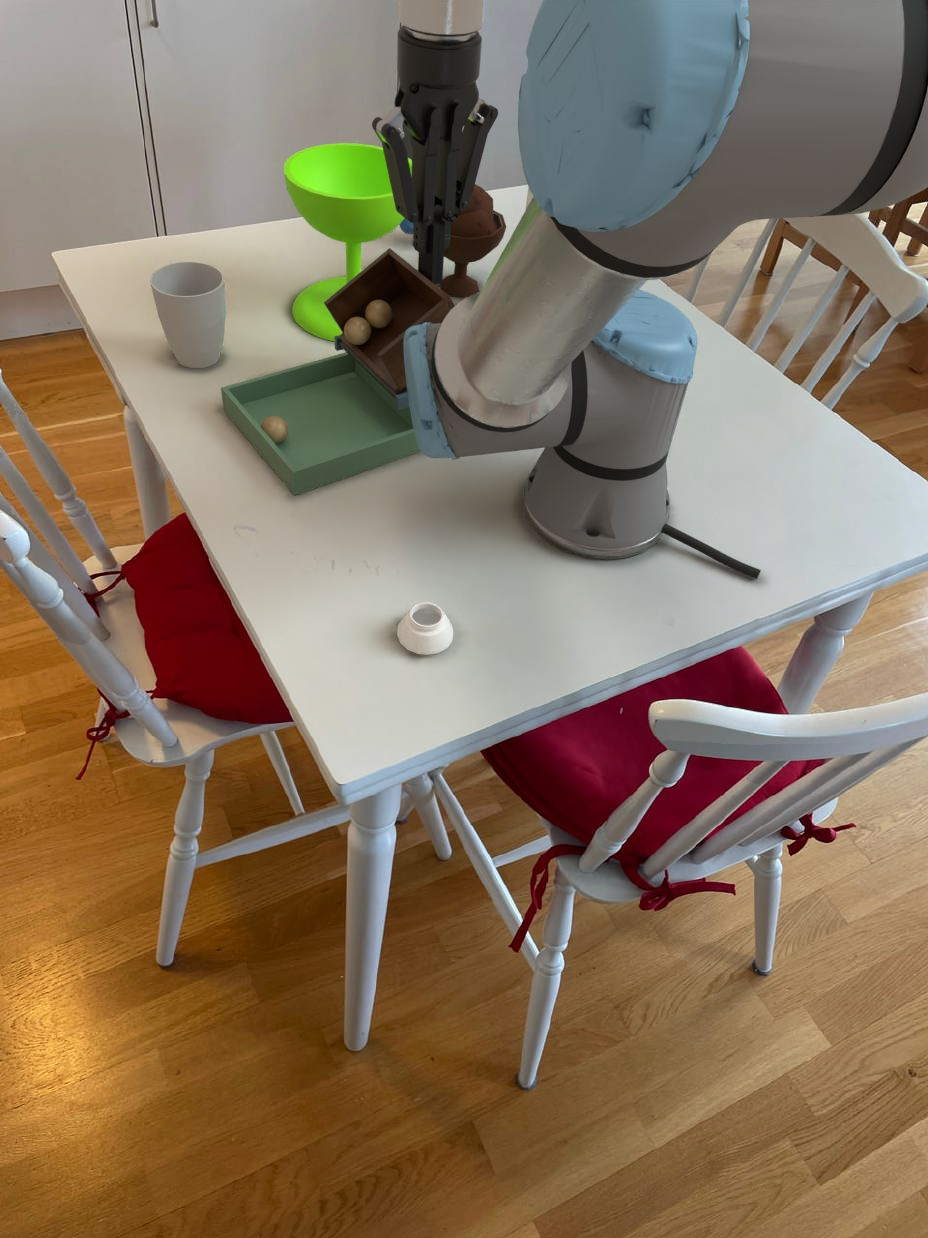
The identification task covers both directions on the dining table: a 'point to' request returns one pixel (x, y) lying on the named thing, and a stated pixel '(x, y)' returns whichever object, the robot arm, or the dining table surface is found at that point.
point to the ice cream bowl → (472, 241)
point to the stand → (400, 399)
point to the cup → (191, 311)
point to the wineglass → (339, 214)
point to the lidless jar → (425, 629)
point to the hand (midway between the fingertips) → (430, 278)
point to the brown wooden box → (410, 307)
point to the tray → (322, 421)
